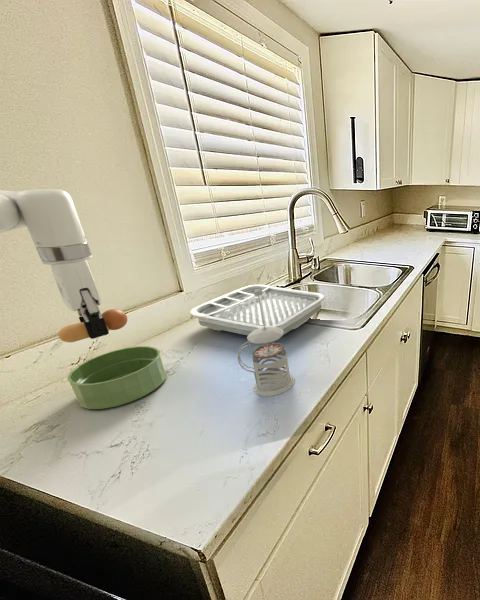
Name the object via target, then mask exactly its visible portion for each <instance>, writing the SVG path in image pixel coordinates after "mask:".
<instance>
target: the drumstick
mask: <svg viewBox="0 0 480 600" xmlns="http://www.w3.org/2000/svg"><path fill="white" fill-rule="evenodd" d="M101 315H102V317H103V318H104V321H105V324H106V326H107V329H108V332H109V331H117V330H120V329H122V328H124V327H125V326H126V325H127V323H128V315H127V314H126V313H125V312H124V311H122V310H120V309H117V308H113V309H112V308H111V309H106V310H105V311H104V312H102V313H101ZM58 338H59V339H60V340H61V341H62V342H64V343H75V342H79V341H82V340H85V339H89V338H90V337H89V335H88V332H87V330H86V327H85V325H84V322H77V323H73V324H69V325H66V326H64V327H62V328H60V330H59V332H58Z"/></svg>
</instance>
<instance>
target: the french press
mask: <svg viewBox="0 0 480 600" xmlns="http://www.w3.org/2000/svg"><path fill="white" fill-rule="evenodd" d="M262 294H263V292H262V290H260V289H256V290H255V291H254V295H255V296H258V298H259V295H262ZM259 303H260V298H259ZM260 309H261V303H260ZM261 314H262V309H261ZM262 320H263V314H262ZM263 325H264V320H263ZM283 333H284V331H283V330H282V329H280V328H278V327H273V326H266V327H265V325H264V327H261V328H259V329H256V330H254V331H253V332H251V333H250V334H249V335H247V336H246V338H247V341H246V342H244V343H242V344H241V346H240V347H239V349H238V354H237V361H238V364H239V366H240V367H241V368H242V369H243V370H245V371H246V372H250V373H253V375H254V380H255V383H254V385H253V392H254V394H256V395H258V396H262V397H273V396H277V395H280V394H284V393H285V392H288V390H290V389H291V388H292V387H293V386H294V384H295V381H296V379H295V377H294V376H293V374H290V373H291V372H290V367H289V361H288V355H287V351H286V349H285V346H284V344H282V343H280V342H276V341H279V340H280V339H281V338H282V337H283V336H284V335H283ZM247 343H248V344H247ZM251 344H253V345H255V344H256V345H258V346H256V347H255V348H254V349H253V350H252V353H251V354H252V364H253V367H252V366H248V365H246V364H245V363H244V362H243V360H242V359H241V352H242V350H244V348H246V347H248V349H249V350H251V348H252V345H251ZM280 356H281V357H280ZM274 358H275V359H274ZM245 367H246V368H245ZM247 368H248V369H247ZM249 369H253V370H249Z"/></svg>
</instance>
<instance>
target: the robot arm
mask: <svg viewBox="0 0 480 600" xmlns="http://www.w3.org/2000/svg"><path fill="white" fill-rule="evenodd" d="M21 228H27V229H28V233H29V235H30V238H31V240H32V242H33V245H34V246H35V249H36V251H37V254H38V256H39V259H40V261H41V263H42V265H47V266H50V268H51V272H52V275H53V278H54V280H55V283H56V285H57V288H58V291H59V293H60V297H61V299H62V302H63V303H64V305H65V306H66V307H67V308H68V309H69V310H70V311H72V312H77V314H78V320H79V323H81V322H84V325H85V327H86V330H87V332H88V335H89V338H90V340H91V339H98V338H100V337H103V336H108V335H109V334H110V333H109V331H108V329H107V326H106V324H105V321H104V318H103V317H102V313H101V310H100V308H99V306H101V305H102V303H103V301H102V297H101V294H100V291H99V289H98V286H97V282H96V280H95V278H94V275H93V272H92V270H91V268H90V265H89V262H88V260H91V259H92V258H93V257H94V256H93V253H92V250H91V248H90V245H89V243H88V239H87V237H86V234H85V232H84V229H83V226H82V223H81V220H80V218H79V214H78V211H77V209H76V206H75V204H74V201H73V198H72V196H71V195H70V193H68V192H67V191H65V190H63V189H56V188H55V189H54V188H50V189H47V188H44V189H41V188H40V189H24V190H6V189H0V234H1V233H4V232H9V231H11V230H16V229H21Z"/></svg>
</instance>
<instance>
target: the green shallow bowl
mask: <svg viewBox="0 0 480 600" xmlns="http://www.w3.org/2000/svg"><path fill="white" fill-rule="evenodd" d="M166 378H167V369H166V366H165V363H164V360H163V357H162V353H161V350H159V349H158V348H157V347H154V346H149V345H139V346H138V345H136V346H130V347H123V348H120V349H116V350H111V351H108V352H105V353H102V354H99V355H97V356H95V357H92V358H90V359H88V360H85V361H84V362H83V363H81V364H79V365H77V366H75V367H74V369H72V371H70V372H69V374H68V376H67V378H66V379H67V382H68V384H69V386H70V388H71V391H72V393H73V395H74V397H75V400H76V401H77V403H78V405H79V406H80V407H81V408H85V409H87V410H103V409H110V408H116V407H119V406H123V405H126V404H130V403H132V402H135V401H137V400H139V399H141V398H144V397H145V396H146V395H149V394H150V393H152V392H153V391H155V390H156V389H158V388H159V387H160V386H161V385H162V384H163V383H164V382H165V380H166Z"/></svg>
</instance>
